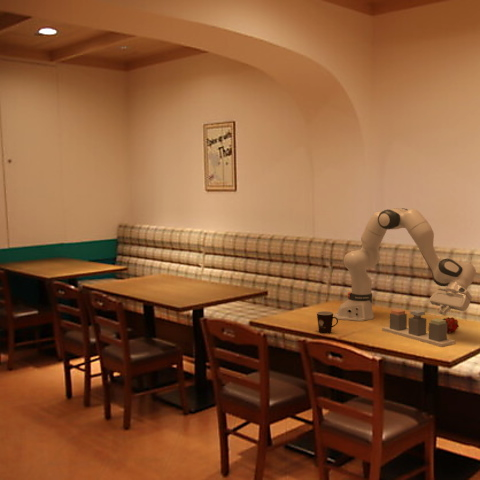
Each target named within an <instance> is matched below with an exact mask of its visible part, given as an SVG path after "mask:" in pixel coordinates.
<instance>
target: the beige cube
mask: <svg viewBox="0 0 480 480" xmlns="http://www.w3.org/2000/svg"><path fill="white" fill-rule="evenodd" d="M409 314H410V315H411V316H413V317H414V319H421V317H422V316H425V315H426V311H425V310H420V309H414V310H413V309H412V310H410V311H409Z"/></svg>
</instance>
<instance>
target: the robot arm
mask: <svg viewBox="0 0 480 480" xmlns="http://www.w3.org/2000/svg"><path fill="white" fill-rule="evenodd" d="M399 229H405V230H407V233H408V234H409V235H410V237H411V239H412V240H413V242H414V243H415V245H416V246H417V248H418V250H419V252H420V253H421V256H422V258H423V259H424V260H425V261H424V262H426V265H428V268H429V270H430V271H431V276H432V277H431V278H432V280H433V282H434V284H436V285H438V286H439V287H446V288H439V289H436V290H435V291H434V292H433V294H432V295H431V296H430V297H429V303H430V304H431V305H432V306H437V307H439V310H438V314H439V315H443V316H445V315H446V314H447V313H448V312H450V311H451V310H456V311H460V312H465V311H467V309H468V308H469V306H470V304H471V301H472V300H473V296H472V295H471V293H470V292H469V290H468V288H469V287H470V286H471V285H472V283H473V281H474V279H475V277H476V274H477V270H476V268H475V267H474V265H473V264H471V263H470V262H467V261H465V262H463V261H462V262H461V261H460V262H459V261H456V260H453V259H451V258H443V259H441V260H440V258H439V257H438V255H437V253H436V251H435V247H434V241H435V240H434V237H435V233H434V230H433V227H432V226H431V225H430V223H429V222H428V220H427V219H426V218H425V216H424V215H422V213H421V212H420V211H419V210H418V209H415V208H409V209H408V208H398V207H397V208H391V209H384V210H382V211H376V212H374V213H373V215H371V217H370V218H369V220H368V221H367V224H366V225H365V228H364V231H363V232H362V234H361V236H360V241H361V244H362V245H361V248H360V249H357V250H352V251H350V252H348V253H346V254H345V255H344V257H343V260H342V261H343V265H344V268H346V269H347V270H348V271H349V272H348V273H349V276H350V278H351V291H348V293H347V299H346V300H345V301H344V302H342V303H341V304H340V305H339V307H338V310H337V312H336V313H334V314H333V317H336V318H337V319H338V320H343V321H344V320H345V321H355V322H357V321H358V322H364V321H367V320H373V319H375V315H374V312H373V292H372V289H373V288H372V285H373V284H372V279H371V277H370V276H369V275H368V272H367V269H370V268H372V267H374V266H376V265H378V264H379V263H380V259H381V257H380V253H379V250H380V246H381V243H382V241H383V239H384V237H385V235H386V233H387V230H399Z"/></svg>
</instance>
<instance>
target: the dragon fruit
mask: <svg viewBox="0 0 480 480" xmlns="http://www.w3.org/2000/svg"><path fill="white" fill-rule="evenodd" d="M441 319H442V320H446V323H447V334H448V333H452V334H454V333H456V332H457V330H459V327H460V325H459V321H458V320H457V319H455V318H454V317H448V316H447V317H446V318H441Z"/></svg>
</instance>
